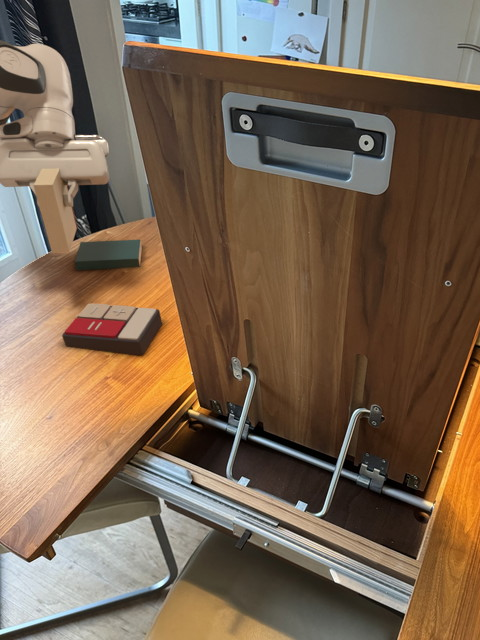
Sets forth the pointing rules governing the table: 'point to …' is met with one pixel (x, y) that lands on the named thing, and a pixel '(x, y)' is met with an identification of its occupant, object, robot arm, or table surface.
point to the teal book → (108, 254)
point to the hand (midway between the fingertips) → (55, 206)
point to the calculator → (113, 328)
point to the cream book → (55, 210)
